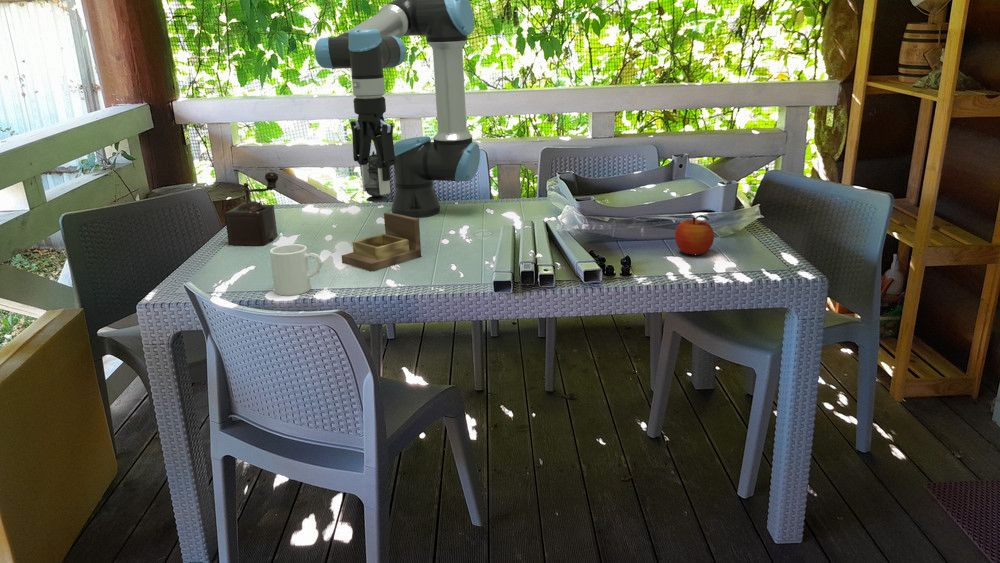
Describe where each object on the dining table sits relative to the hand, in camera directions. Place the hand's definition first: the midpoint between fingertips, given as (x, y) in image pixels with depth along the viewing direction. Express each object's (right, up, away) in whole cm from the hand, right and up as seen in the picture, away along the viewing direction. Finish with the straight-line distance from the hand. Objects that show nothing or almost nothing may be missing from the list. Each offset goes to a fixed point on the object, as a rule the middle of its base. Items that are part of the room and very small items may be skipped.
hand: (376, 191), depth 201 cm
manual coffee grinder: (-38, -10, +29) cm, 49 cm away
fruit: (+79, -15, +3) cm, 81 cm away
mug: (-15, -24, -16) cm, 33 cm away
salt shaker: (0, -2, +1) cm, 2 cm away
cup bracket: (+1, -17, +6) cm, 18 cm away
